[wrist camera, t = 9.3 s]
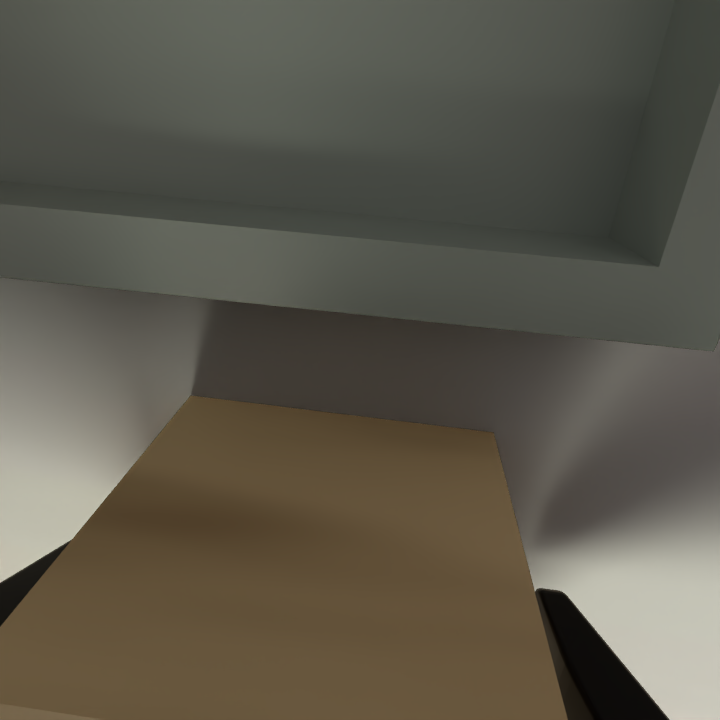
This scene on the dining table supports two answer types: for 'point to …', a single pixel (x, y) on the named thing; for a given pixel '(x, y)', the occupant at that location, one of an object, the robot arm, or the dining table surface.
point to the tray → (374, 158)
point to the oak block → (289, 581)
